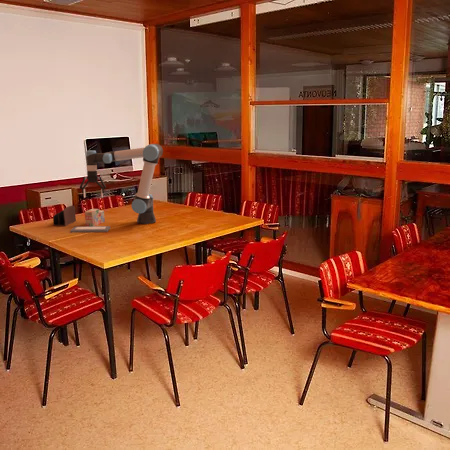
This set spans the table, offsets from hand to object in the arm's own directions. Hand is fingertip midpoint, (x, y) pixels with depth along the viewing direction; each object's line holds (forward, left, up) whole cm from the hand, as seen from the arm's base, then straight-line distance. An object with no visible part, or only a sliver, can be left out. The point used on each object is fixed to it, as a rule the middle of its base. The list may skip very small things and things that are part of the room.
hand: (93, 197), depth 387 cm
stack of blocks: (0, 0, -22) cm, 22 cm away
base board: (-1, +21, -22) cm, 30 cm away
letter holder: (+25, -4, -22) cm, 33 cm away
